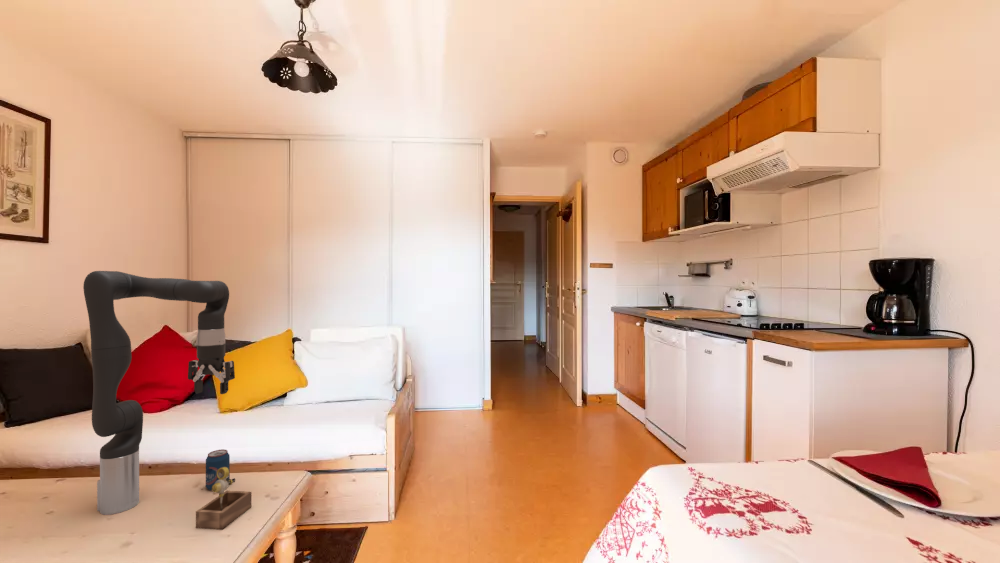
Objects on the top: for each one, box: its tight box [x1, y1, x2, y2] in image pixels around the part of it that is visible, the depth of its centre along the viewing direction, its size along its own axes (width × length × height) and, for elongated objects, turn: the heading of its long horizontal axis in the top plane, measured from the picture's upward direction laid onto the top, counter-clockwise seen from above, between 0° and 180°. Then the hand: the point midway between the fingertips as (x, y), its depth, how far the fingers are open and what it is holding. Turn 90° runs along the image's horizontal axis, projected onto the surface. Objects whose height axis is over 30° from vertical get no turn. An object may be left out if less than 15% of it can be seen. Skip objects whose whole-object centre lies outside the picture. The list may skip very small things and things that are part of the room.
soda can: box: [205, 449, 231, 492], centre depth 145 cm, size 7×7×12 cm
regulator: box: [212, 467, 236, 511], centre depth 126 cm, size 8×4×15 cm, turn 169°
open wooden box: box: [195, 490, 252, 531], centre depth 126 cm, size 8×12×5 cm
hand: (211, 393), depth 133 cm, fingers open, 8 cm apart
